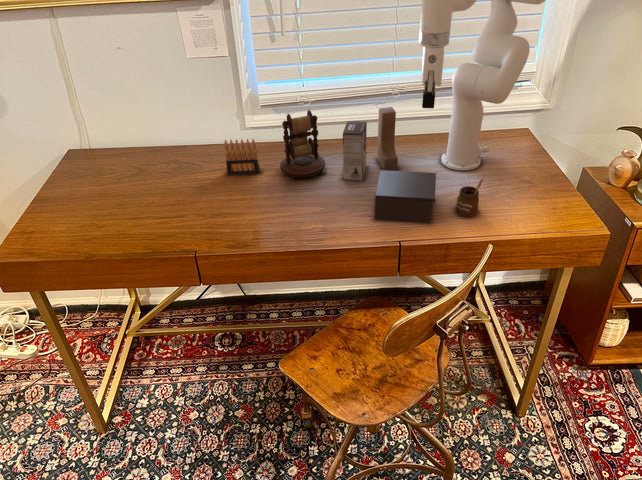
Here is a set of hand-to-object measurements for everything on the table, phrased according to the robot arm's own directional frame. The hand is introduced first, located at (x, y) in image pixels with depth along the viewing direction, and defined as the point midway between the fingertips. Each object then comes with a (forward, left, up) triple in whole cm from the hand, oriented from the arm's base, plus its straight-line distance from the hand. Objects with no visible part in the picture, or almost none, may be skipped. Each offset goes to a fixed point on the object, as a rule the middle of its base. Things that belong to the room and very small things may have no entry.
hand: (428, 106), depth 149 cm
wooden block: (0, -20, -27) cm, 34 cm away
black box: (+9, +5, -27) cm, 29 cm away
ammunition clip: (+44, -38, -27) cm, 64 cm away
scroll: (+26, -30, -27) cm, 48 cm away
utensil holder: (-6, +15, -27) cm, 32 cm away
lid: (+9, +5, -20) cm, 22 cm away
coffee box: (+12, -20, -27) cm, 36 cm away
